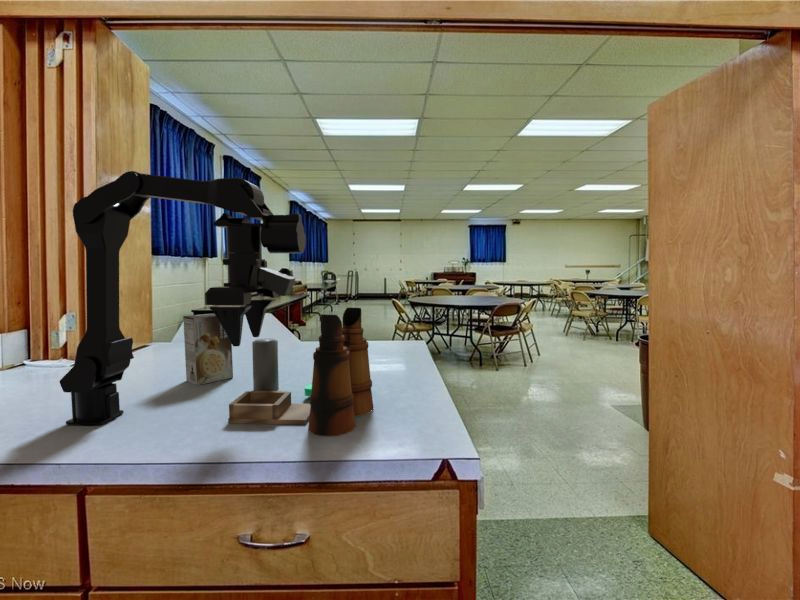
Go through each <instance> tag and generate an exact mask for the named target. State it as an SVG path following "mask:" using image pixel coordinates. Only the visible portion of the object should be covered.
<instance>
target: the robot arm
mask: <svg viewBox="0 0 800 600" xmlns="http://www.w3.org/2000/svg"><path fill="white" fill-rule="evenodd" d="M150 198H153V199H154V198H156V199H160V200H161V199H163V200H171V201H178V202H185V203H186V202H187V203H193V204H195V203H196V204H203V205H210V206H213V207H216V208H220V209H223V210H224V211H225V210H226V211H230V212H232V213H235V214H239V215H243V216H246V217H232V216H231V215H230V214H229V213H225V212H222V214H221V215H220V217H219V218H217V219H216V220H215V221H214V222H213V226H214V227H217V228H223V229H225V228H226V229H225V230H226V231H225V232H226V258H223V259H222V266H227V282H223V286H212V287H209V288H208V290H206V292H205V293H204V305H205V306H209V310H210V311H212V313H214V314H215V315H216V317H217V319H218V320H219V322H220V323H221V325H222V327H223V329H224V330H225V332H226V334H227V336H228V338H229V340H230V341H231V343H232V347H240V346H241V343H242V336H243V326H244V325H243V324H244V316H245V318H246V321H247V324H248V327H249V330H250V332H251V335H252V337H253V338H259V337H260V335H261V331H262V327H263V323H264V319H265V316H266V312H267V309H268V308H269V306H271V305H272V304H273V303H274V302H276V300H277V299H276V298H278V297H279V296H281V297H285V296H287V295H288V296H289V295H291V292H292V290H293V287H294V286H295V285H296V276H294V274H293V273H294V272H293V270H292V269H290V268H288V267H282V268H281V269H279V270H276V269H271V268H269V267H268V262H267V260H266V259H264V258H263V259H262V247H263V248H264V249H265V248H266V250H267V251H268V253H270V254H304V252H305V250H306V240H307V239H306V233H305V228H304V224H303V222H302V215H301V214H299V213H289V214H274V213H273V212H272V210H271V209H270V208H269V207H268V205H267V204H266V203H265V195H264V193H263V191H262V190H261V189H260V187H259V186H257V185H255V184H253V183H251V182H250V181H248V180H246V179H243V178H240V177H224V178H216V179H215V178H214V179H212V180H211V179H210V180H198V179H189V178H188V179H187V178H180V177H174V176H173V177H172V176H164V175H158V174H157V175H156V174H149V173H148V174H147V173H140V172H138V171H135V170H131V171H126V172H123V173H122V174H121V175H120V176H119V177H118V178H116V179H115V180H113V181H111V182H109V183H106V184H105V185H102V186H100V187H97V188H96V189H94V190H93V191H92V192H90V193H89V194H88V195H87V196H84V197H81V198H80V199H79V200H78V201H77V202H75V203H74V205H73V207H72V217H73V222H74V224H73V225H74V229H75V233H76V234H77V236H78V238H79V240H80V241H81V243H82V245H83V246H84V249H85V273H86V274H85V280H86V281H85V283H86V284H85V289H86V290H85V291H86V293H85V295H86V296H85V297H86V299H85V300H86V301H85V302H86V303H85V306H86V315H85V316H86V329H85V333H84V334H83V336H82V338H81V340H79V343H78V345H77V347H76V353H75V358H74V365H73V366H72V368H71V369H69V371H68V372H67V373H65V375H64V376H62V377H61V379H60V380H59V385H60V387H61V390H62V391H63V392H64V393H70V395H71V396H70V397H71V398H70V399H71V413H72V416H71V417H72V418H70V419H68V420H66V421H65V425H76V424H82V425H85V426H86V425H87V426H88V425H89V426H90V425H91V426H94V425H95V426H98V425H99V426H100V425H103V424H105V423H106V422H109V421H110V420H113V419H115V418H116V417H119V416H120V415H122V414H124V410H123V409H122V410H121V409H120V408H121V406H120V393H119V391H117V387H118V386H117V383H115V382H118V381H122V380H123V375H124V373H125V371H126V370H127V368H129V366H130V364H131V360H132V359H134V358H135V357H134V354H133V343H134V341H133V340H134V339H133V337H132V336H131V337H125V335H124V334H123V332H122V330H121V328H120V252H121V251H120V250H121V249H122V246H123V244H124V243H125V241H126V239H127V238H128V235H129V231H130V230H129V229H130V225H131V220H132V219H134V218H135V217H136V216H137V215H139V214H140V213H141V211H142V209H143V208H144V206H145V204H146V202H147V201H148V200H149V199H150ZM249 218H251V219H254V220H258V221H262V222H261V223H257V222H253V223H251V220H250V219H249Z"/></svg>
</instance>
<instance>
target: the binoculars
mask: <svg viewBox="0 0 800 600" xmlns="http://www.w3.org/2000/svg"><path fill="white" fill-rule="evenodd" d="M320 334H321V335H319V336H318V343H319V344H318V346H317V347H316V348H315V351H314V352H313V353H312V357H313V370H312V382H311V384H312V391H311V395H310V396H309V404H310V405H311V407H310V416H309V420H308V426H307V428H308V429H307V430H308V432H309V433H311V434H313V435H315V436H321V437H335V436H341V435H345V434H348V433H351V432H352V431H354V429H355V428H356V421H355V417H356V416H357V417H358V416H363V415H362V414H364V415H367V414H369V413H368V412H370V411H371V410H374V409H373V408H374V401H373V392H372V387H373V381H372V378H371V371H370V358H369V350H368V348H369V342H368V341H367V338H366V337H364V328H363V327H362V308H361V307H346V308H345V310H344V312H343V314H342V320H341V318H340V317H339V316H338V315H337V314H324V313H323V314H322V313H321V314H320ZM371 412H372V411H371ZM371 412H370V413H371ZM366 413H367V414H366Z"/></svg>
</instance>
